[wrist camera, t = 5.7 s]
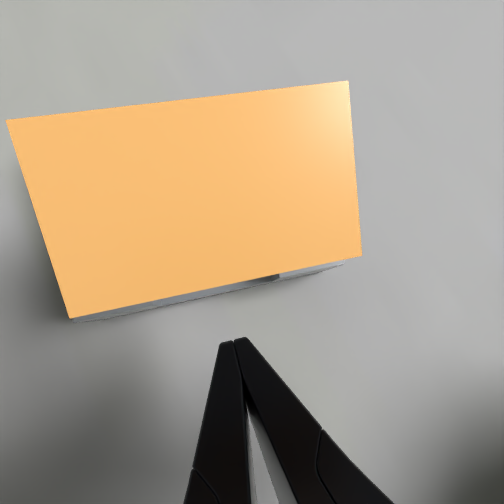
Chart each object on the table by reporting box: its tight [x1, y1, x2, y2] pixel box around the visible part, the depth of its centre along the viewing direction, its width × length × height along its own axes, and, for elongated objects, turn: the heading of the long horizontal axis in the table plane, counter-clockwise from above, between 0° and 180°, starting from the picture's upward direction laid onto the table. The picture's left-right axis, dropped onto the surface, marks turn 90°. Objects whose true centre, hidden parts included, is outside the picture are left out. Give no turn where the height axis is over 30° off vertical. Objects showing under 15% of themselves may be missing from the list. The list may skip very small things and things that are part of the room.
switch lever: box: [6, 81, 362, 318], centre depth 10 cm, size 3×5×10 cm, turn 103°
